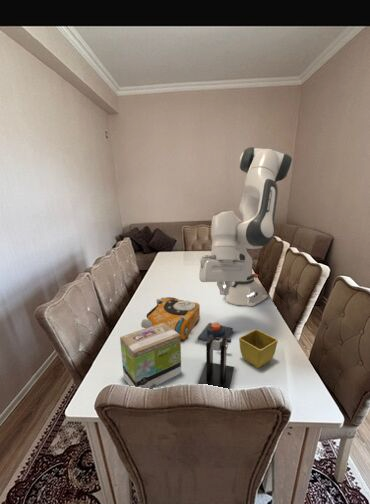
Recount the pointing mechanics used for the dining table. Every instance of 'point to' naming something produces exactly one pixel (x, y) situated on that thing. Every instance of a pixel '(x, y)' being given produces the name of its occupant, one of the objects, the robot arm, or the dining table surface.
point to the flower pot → (257, 347)
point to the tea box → (151, 356)
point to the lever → (218, 343)
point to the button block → (215, 333)
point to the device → (174, 315)
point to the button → (215, 326)
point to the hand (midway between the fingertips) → (224, 294)
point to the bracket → (216, 367)
